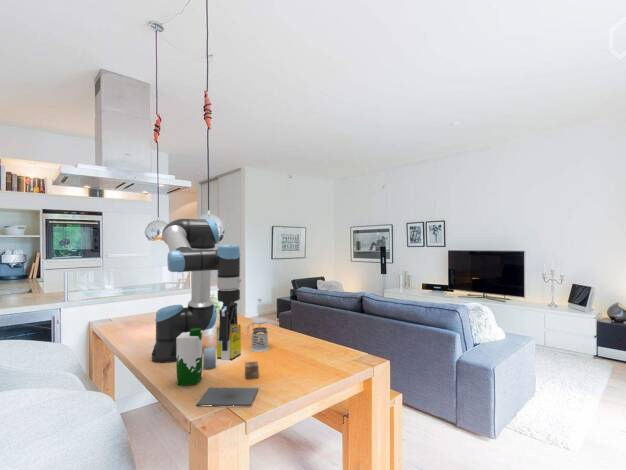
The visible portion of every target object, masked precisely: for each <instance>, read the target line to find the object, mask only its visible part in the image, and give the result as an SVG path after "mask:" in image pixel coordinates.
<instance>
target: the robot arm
mask: <svg viewBox="0 0 626 470" xmlns="http://www.w3.org/2000/svg"><path fill="white" fill-rule="evenodd" d="M161 237H162V240H163V241H164V244H166V245H167V246H168V249H169V251H168V253H167V270H168V271H169V272H171V273H186V272H191V298H190V300H189V301H188V302H187V307H184V306H183V304H173V305H172V304H171V305H168V306H164V307H161V308H160V309H158V310H157V311H156V313H155V319H154V320H155V343H154V345H153V349H152V353H151V355H150V356H151V359H152V360H151V362H153V361H154V363H158V362H160V363H161V364H164V363H166V362H167V363H173V362H177V343H176V338H177V337H178V336H179V335H180V334H181V333H185V332H190V329H192V328H201V332H204V331H207V330H212V329H213V328H214V326H215V325H216V322H217V315H218V313H219V325H218V327H219V339H218V340H219V341H221V359H220V360H221V361H230V340H229V333H230V324H238V303H237V301H239V300H240V299H241V294H240V293H241V290H240V285H241V284H240V283H241V282H242V279H241V278H240V276H241V273H240V272H241V270H240V269H241V268H240V267H241V265H240V264H241V258H240V257H241V252H240V246H239V244H219V242H220V231H219V227H218V224H217V221H215V219H207V218H178V219H175V220H173V221H170V222H169V223H168V224H166V226H164V228H163V229H162V235H161ZM217 244H219V245H218V246H217V249H215V247H216V245H217ZM212 271H217V286H216V287H217V289H218V290H217V302H220V303H222V306H221V309H219V311H218V310H217V305H216V304H214V301H213V300H212V299H211V281H212V280H211V277H212ZM217 311H218V313H217ZM160 363H159V364H160Z"/></svg>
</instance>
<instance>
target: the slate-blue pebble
mask: <svg viewBox="0 0 626 470" xmlns="http://www.w3.org/2000/svg"><path fill="white" fill-rule="evenodd" d="M216 363H217V347H215V346H207V347H204V348H202V369H204V370H205V371H207V370H208V371H209V370H210V371H211V370H213V369H216V367H217V365H216Z"/></svg>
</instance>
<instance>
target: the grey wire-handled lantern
mask: <svg viewBox="0 0 626 470" xmlns="http://www.w3.org/2000/svg"><path fill="white" fill-rule="evenodd" d="M257 301H258V302H262V301H263V300H262V298H258V299H257ZM268 322H269V319H267V318H264V317H261V316H259V317H256V318H254V319H253V320H251V323H250V324H249V325H248V326H247V328H246V329H247V332H246V335H247V336H250V339H251V347H250V348H249V350H250V352H255V353H260V352H261V353H262V352H267V351H269V350H270V346H269V345H268V339H269V337H268V331H267V330H268V328H267V327H261V326H257V327H254V328H253V329H252V333H251V334H250V333H249V332H250V331H249V330H250V329H249V328H250V326H251V327H253V326H254V324H255V325H256V324H257V325H261V324H262V325H263V324H267V323H268Z"/></svg>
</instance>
